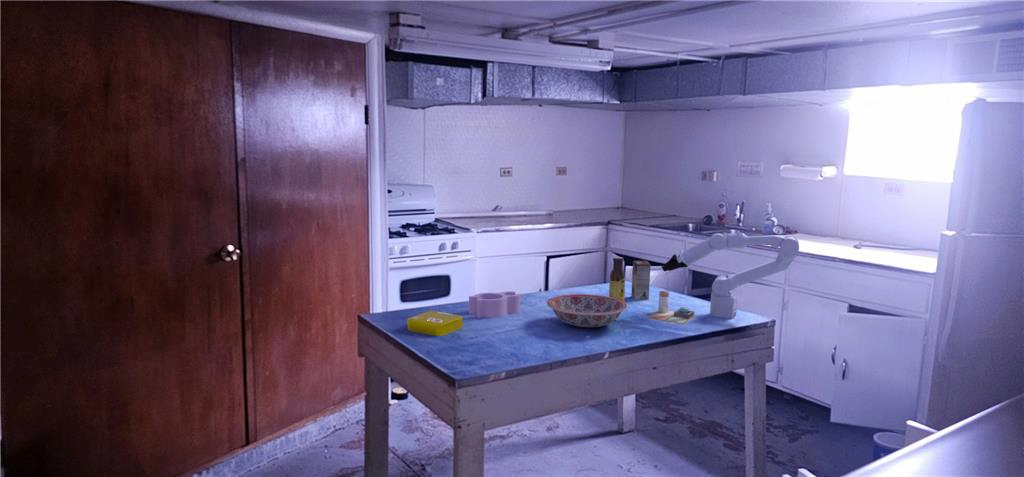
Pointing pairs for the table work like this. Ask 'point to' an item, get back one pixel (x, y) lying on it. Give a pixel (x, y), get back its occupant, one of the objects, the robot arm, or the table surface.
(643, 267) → the coffee box
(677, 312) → the button housing
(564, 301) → the ceramic bowl
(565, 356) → the table surface
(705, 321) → the table surface
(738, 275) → the robot arm
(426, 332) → the element tile
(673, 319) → the beige flat square board
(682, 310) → the button
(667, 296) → the cylinder
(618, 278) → the sauce bottle
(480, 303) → the pink lobed tray
